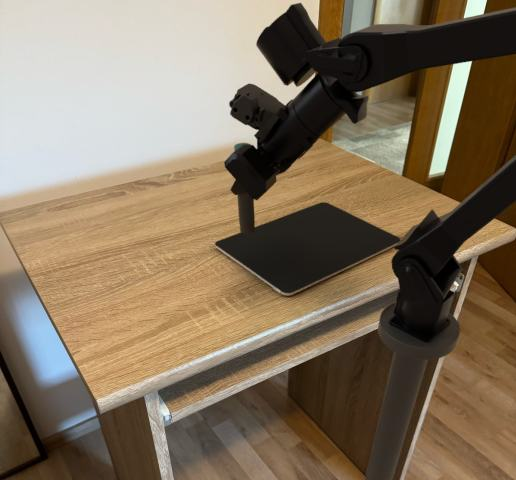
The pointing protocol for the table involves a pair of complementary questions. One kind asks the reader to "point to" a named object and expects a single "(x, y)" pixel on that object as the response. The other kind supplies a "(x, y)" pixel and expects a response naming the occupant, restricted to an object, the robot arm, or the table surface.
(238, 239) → the tablet
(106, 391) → the table surface
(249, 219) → the teal capped marker
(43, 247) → the table surface
